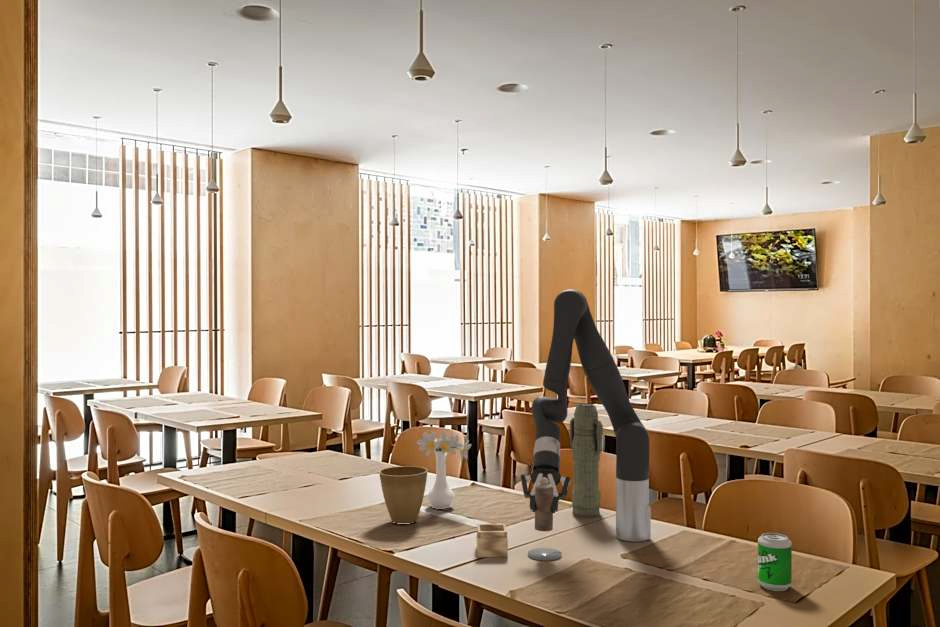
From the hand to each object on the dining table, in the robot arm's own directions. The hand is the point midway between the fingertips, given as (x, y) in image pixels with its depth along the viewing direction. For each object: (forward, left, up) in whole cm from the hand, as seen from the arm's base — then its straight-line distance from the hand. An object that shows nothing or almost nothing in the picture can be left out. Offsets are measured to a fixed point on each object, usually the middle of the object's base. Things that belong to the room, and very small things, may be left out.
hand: (543, 510), depth 209 cm
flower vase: (+28, -52, -13) cm, 60 cm away
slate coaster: (0, -2, -12) cm, 13 cm away
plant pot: (+40, -35, -13) cm, 54 cm away
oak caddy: (+14, -5, -12) cm, 19 cm away
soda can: (-52, +23, -13) cm, 59 cm away
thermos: (-18, -43, -13) cm, 49 cm away
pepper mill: (0, -2, -5) cm, 6 cm away
